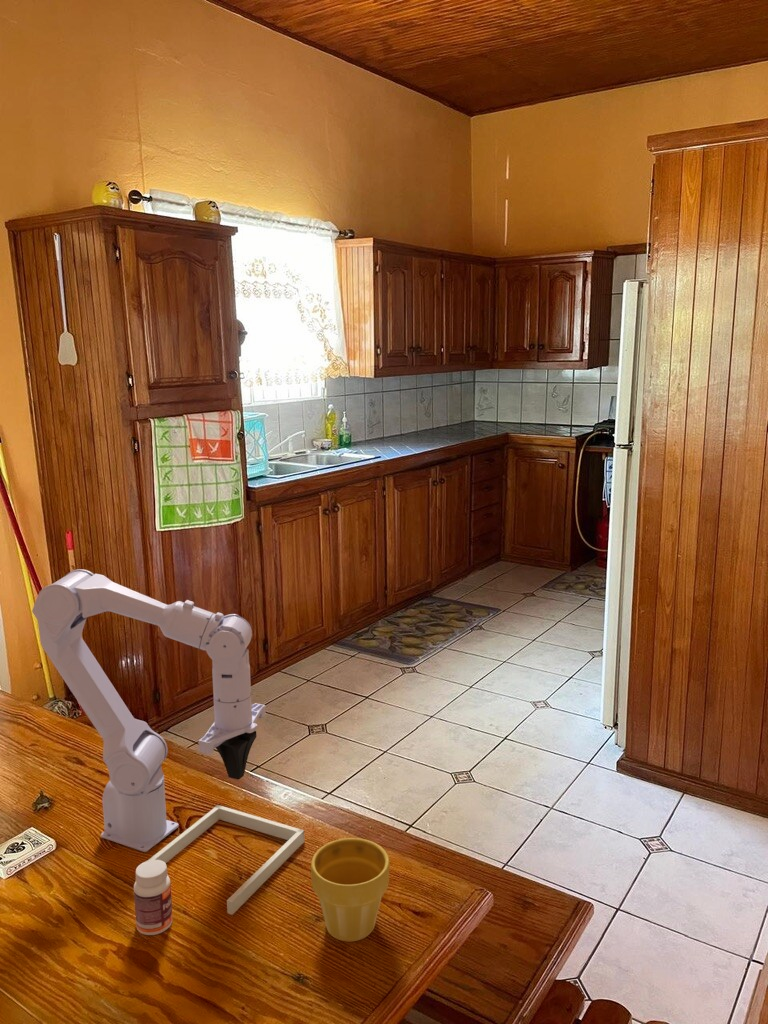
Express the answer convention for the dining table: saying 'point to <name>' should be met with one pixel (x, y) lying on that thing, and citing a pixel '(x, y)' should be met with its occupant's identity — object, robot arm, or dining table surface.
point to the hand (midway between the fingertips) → (236, 776)
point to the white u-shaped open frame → (248, 821)
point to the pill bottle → (152, 898)
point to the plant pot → (350, 885)
